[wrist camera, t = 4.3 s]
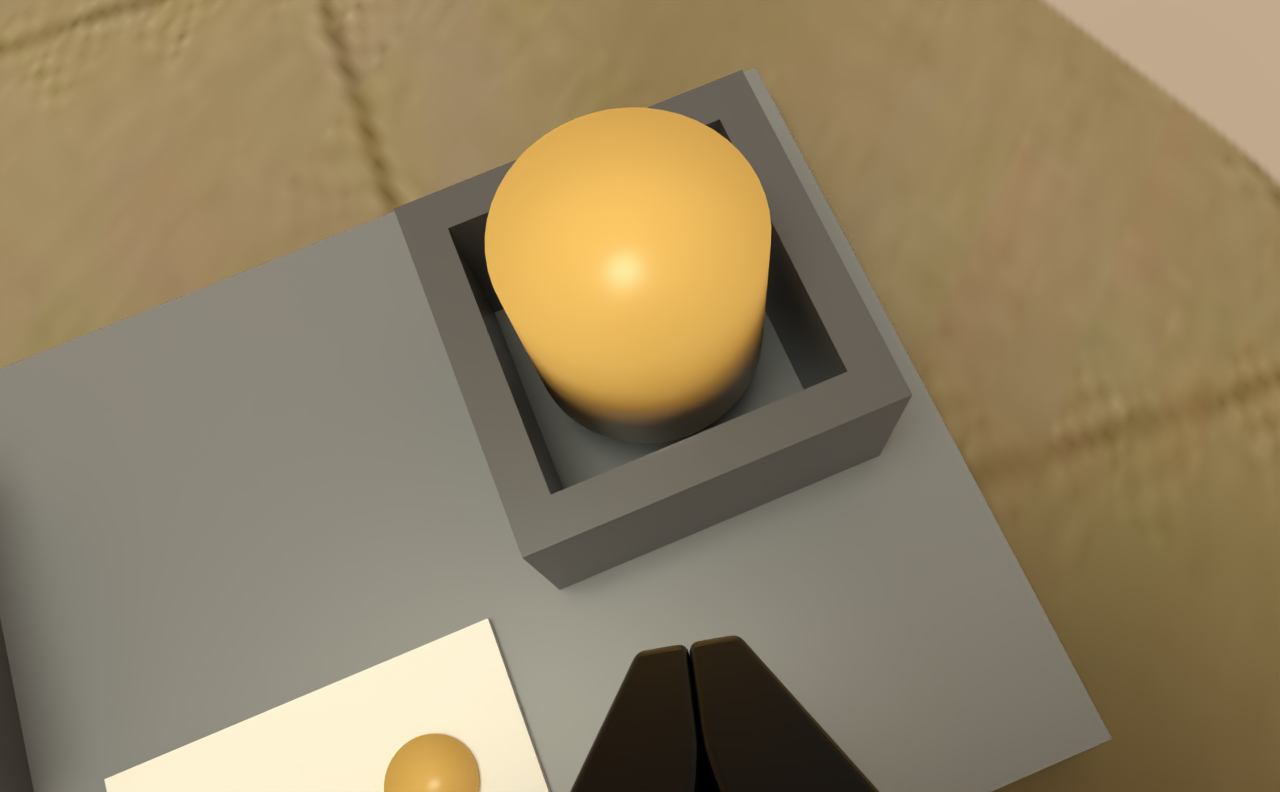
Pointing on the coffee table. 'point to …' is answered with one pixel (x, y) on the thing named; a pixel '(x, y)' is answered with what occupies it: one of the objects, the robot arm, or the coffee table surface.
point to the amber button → (634, 270)
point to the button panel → (491, 531)
